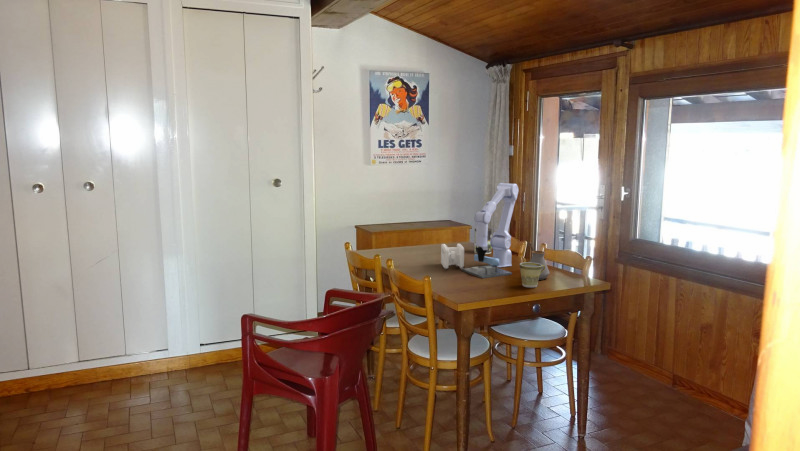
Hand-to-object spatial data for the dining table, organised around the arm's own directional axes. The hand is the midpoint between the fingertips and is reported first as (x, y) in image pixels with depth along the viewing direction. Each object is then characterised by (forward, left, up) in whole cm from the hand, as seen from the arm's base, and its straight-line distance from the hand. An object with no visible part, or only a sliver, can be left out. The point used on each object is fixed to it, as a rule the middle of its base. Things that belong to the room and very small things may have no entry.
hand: (480, 261), depth 286 cm
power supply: (0, +7, -5) cm, 8 cm away
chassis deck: (0, +5, -5) cm, 7 cm away
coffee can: (-29, -38, -5) cm, 48 cm away
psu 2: (+6, +7, -5) cm, 11 cm away
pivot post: (-4, +7, -5) cm, 9 cm away
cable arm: (-3, +1, -1) cm, 3 cm away
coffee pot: (-18, +20, -5) cm, 27 cm away
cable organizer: (+9, -13, -5) cm, 17 cm away
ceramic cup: (-4, +35, -5) cm, 35 cm away
